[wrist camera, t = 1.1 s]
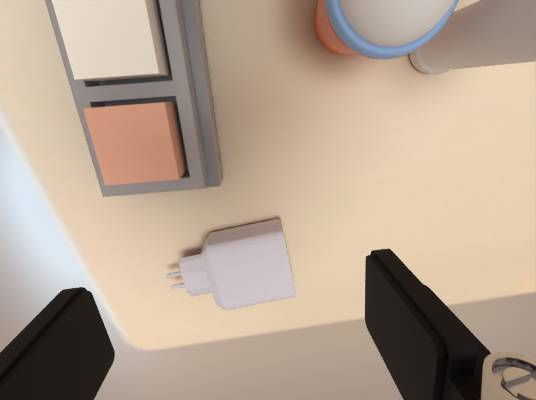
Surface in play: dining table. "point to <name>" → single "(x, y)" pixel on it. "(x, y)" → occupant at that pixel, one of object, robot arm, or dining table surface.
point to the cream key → (112, 38)
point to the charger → (240, 266)
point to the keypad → (163, 98)
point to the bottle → (481, 37)
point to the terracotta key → (137, 142)
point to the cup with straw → (380, 25)
